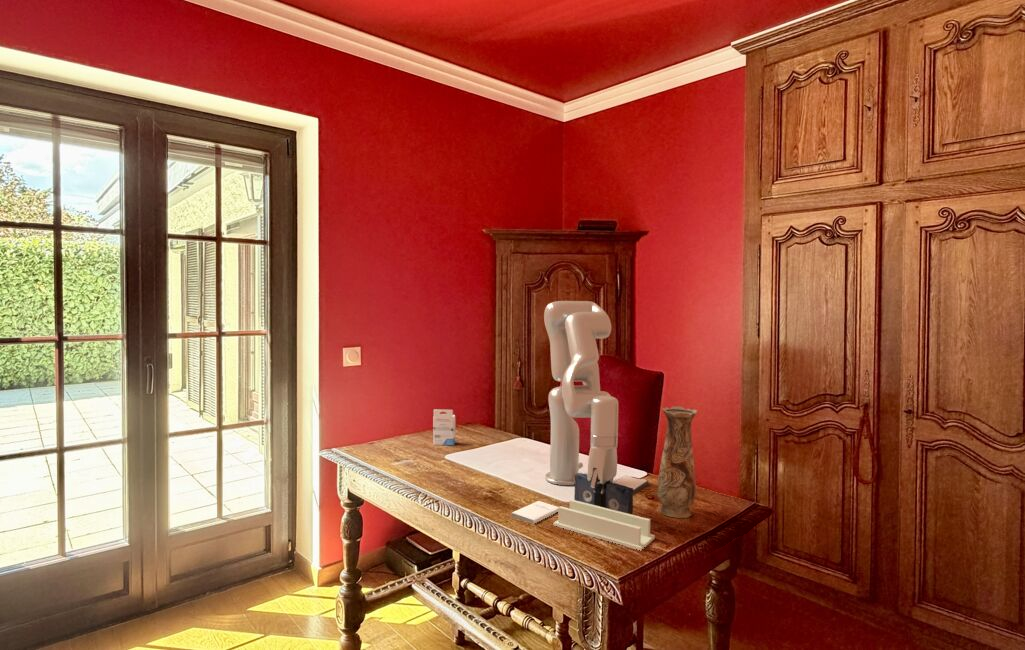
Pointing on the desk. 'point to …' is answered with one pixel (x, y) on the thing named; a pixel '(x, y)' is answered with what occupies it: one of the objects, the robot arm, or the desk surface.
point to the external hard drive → (535, 512)
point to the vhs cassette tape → (615, 493)
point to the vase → (677, 464)
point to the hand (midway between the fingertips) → (602, 504)
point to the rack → (605, 524)
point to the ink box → (443, 427)
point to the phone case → (632, 482)
